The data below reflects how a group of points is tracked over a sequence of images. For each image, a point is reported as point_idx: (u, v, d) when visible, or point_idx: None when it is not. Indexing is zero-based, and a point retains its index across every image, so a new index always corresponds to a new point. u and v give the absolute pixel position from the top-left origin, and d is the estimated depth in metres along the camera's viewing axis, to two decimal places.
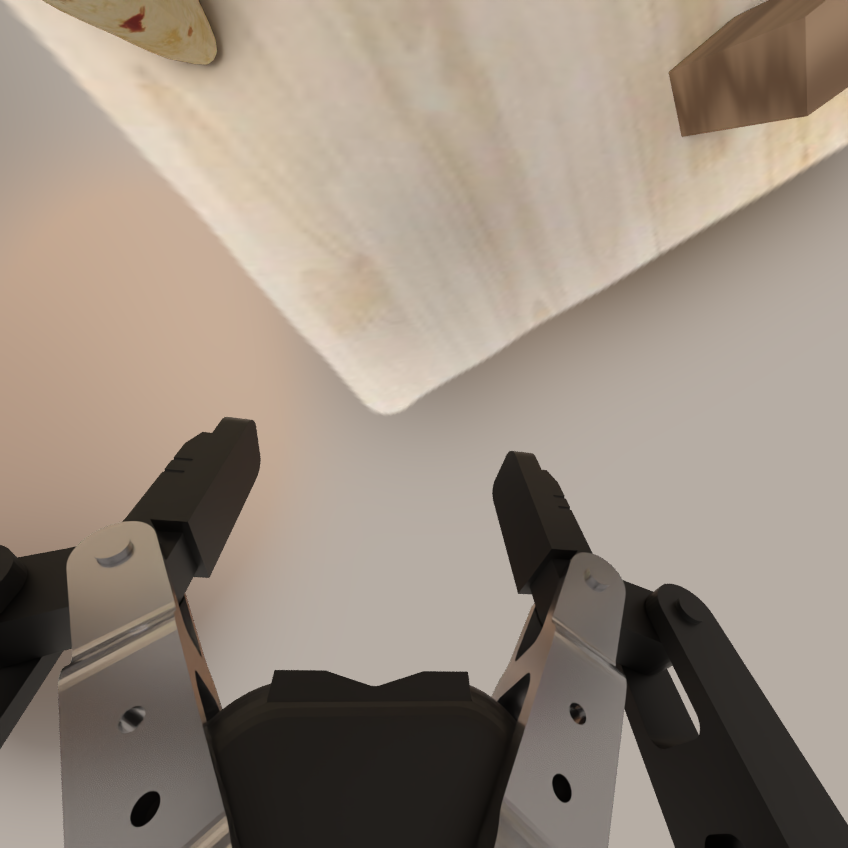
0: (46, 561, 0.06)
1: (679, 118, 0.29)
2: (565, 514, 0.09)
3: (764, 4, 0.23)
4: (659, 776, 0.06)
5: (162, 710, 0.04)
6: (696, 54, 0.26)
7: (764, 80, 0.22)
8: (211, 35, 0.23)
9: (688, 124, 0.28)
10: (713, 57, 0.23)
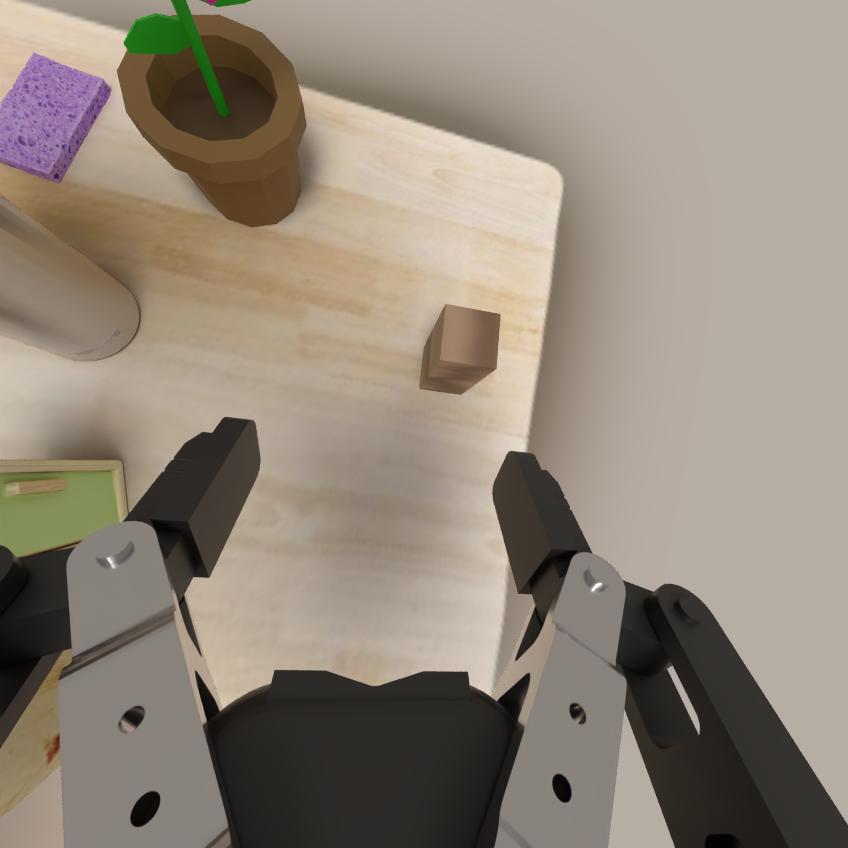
0: (46, 561, 0.06)
1: (449, 391, 0.39)
2: (565, 514, 0.09)
3: (428, 341, 0.36)
4: (659, 776, 0.06)
5: (162, 709, 0.04)
6: (422, 376, 0.37)
7: (459, 372, 0.31)
8: None
9: (456, 391, 0.38)
10: (428, 379, 0.34)
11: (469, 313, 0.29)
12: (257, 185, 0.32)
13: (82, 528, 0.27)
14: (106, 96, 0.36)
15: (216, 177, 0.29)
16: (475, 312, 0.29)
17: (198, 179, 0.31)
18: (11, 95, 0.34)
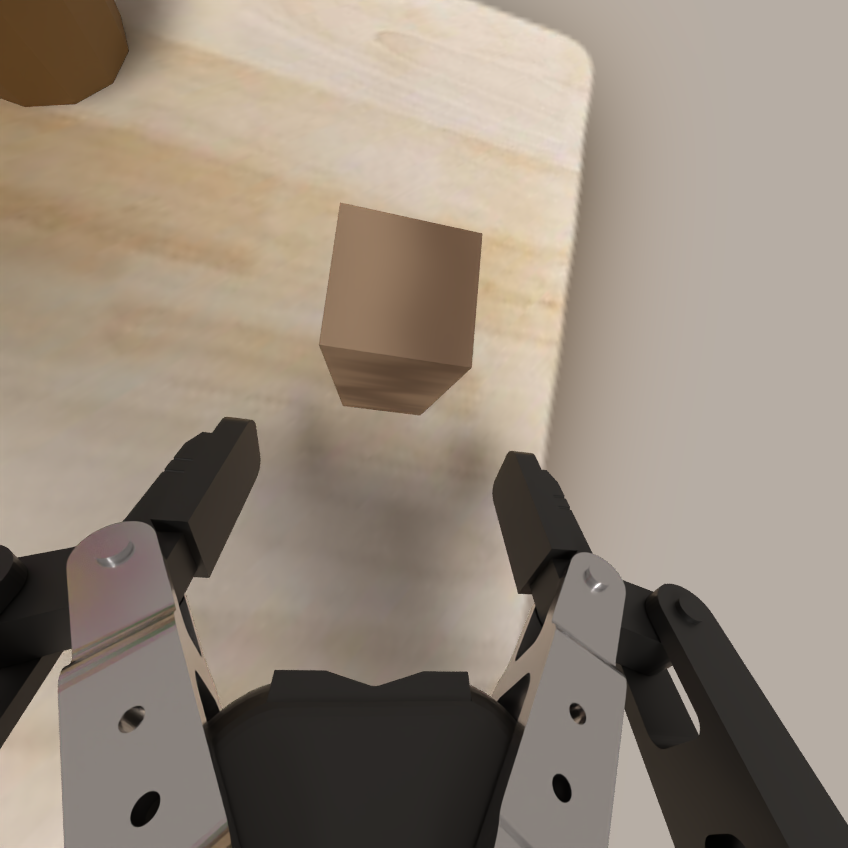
0: (46, 561, 0.06)
1: (398, 410, 0.22)
2: (565, 514, 0.09)
3: None
4: (659, 776, 0.06)
5: (162, 710, 0.04)
6: None
7: (390, 377, 0.13)
8: None
9: (409, 411, 0.21)
10: (341, 390, 0.17)
11: (402, 228, 0.11)
12: None
13: None
14: None
15: None
16: (418, 226, 0.12)
17: None
18: None
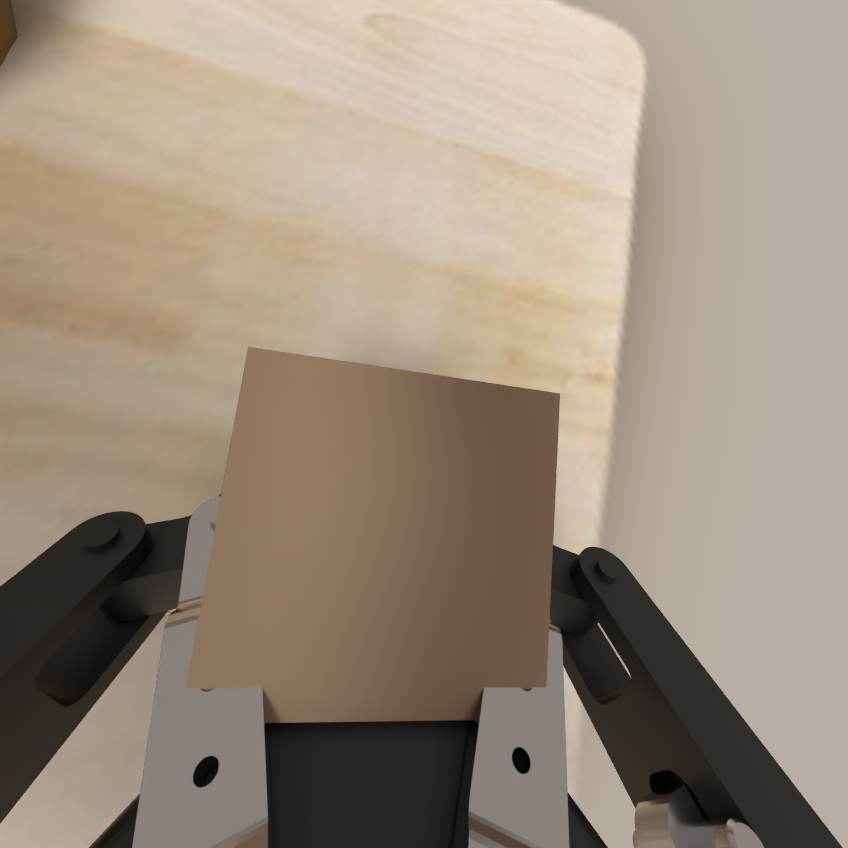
0: (164, 529, 0.07)
1: None
2: None
3: None
4: (605, 730, 0.07)
5: None
6: None
7: None
8: None
9: None
10: None
11: (391, 396, 0.05)
12: None
13: None
14: None
15: None
16: (426, 390, 0.05)
17: None
18: None
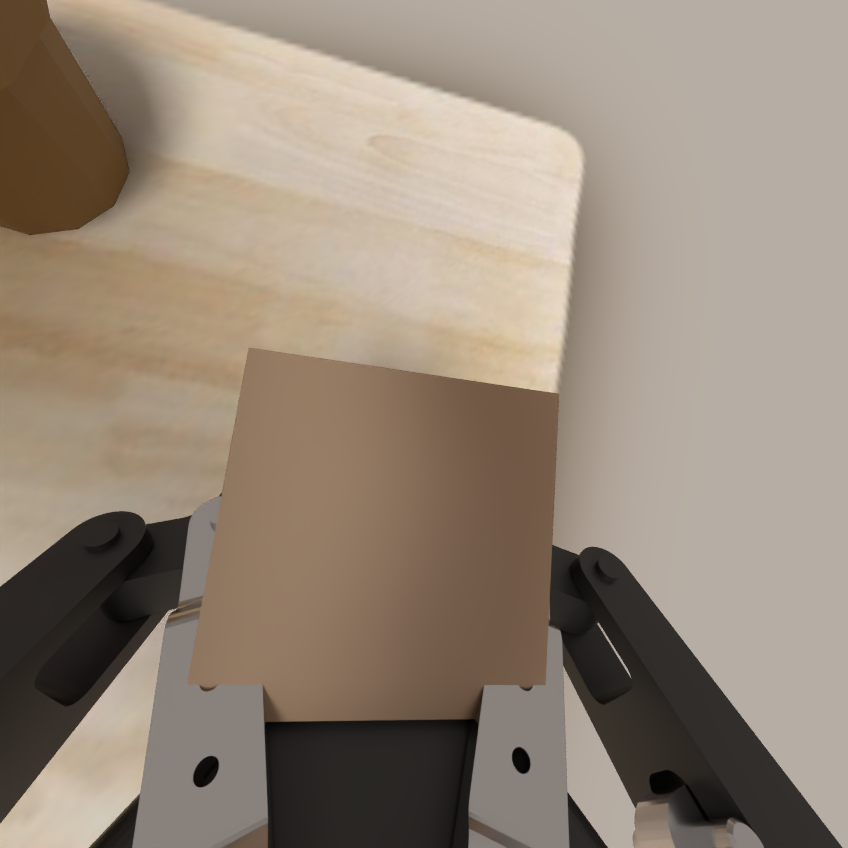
0: (164, 529, 0.07)
1: None
2: None
3: None
4: (604, 729, 0.07)
5: None
6: None
7: None
8: None
9: None
10: None
11: (390, 396, 0.05)
12: None
13: None
14: None
15: None
16: (426, 390, 0.05)
17: None
18: None
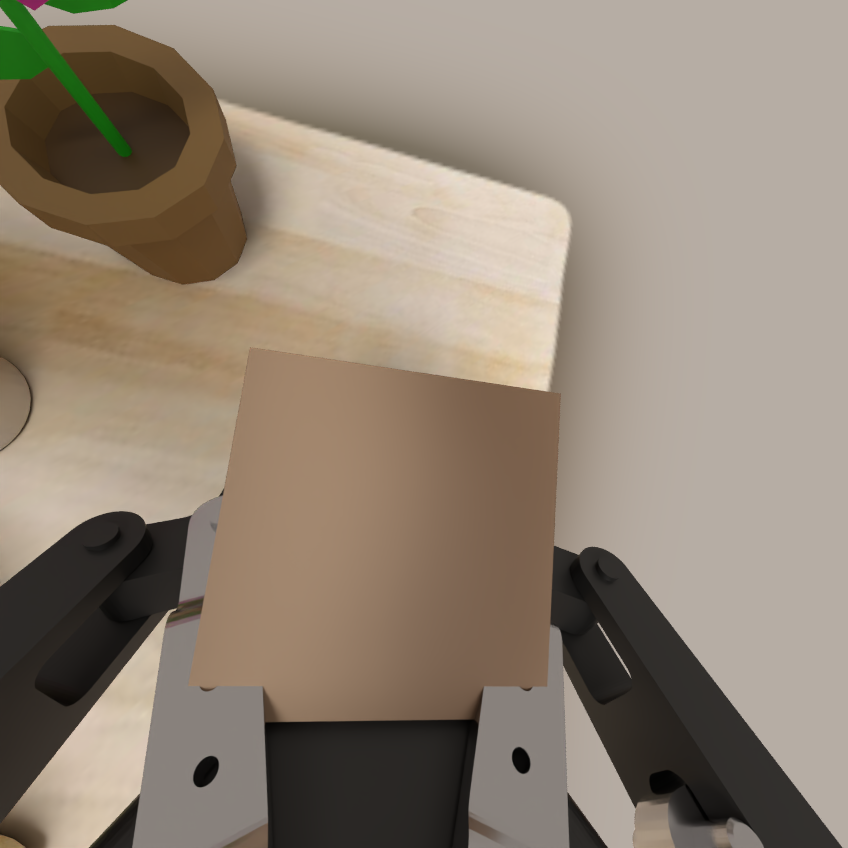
0: (163, 529, 0.07)
1: None
2: None
3: None
4: (604, 730, 0.07)
5: None
6: None
7: None
8: None
9: None
10: None
11: (392, 395, 0.05)
12: (173, 242, 0.24)
13: None
14: None
15: (105, 239, 0.21)
16: (427, 390, 0.05)
17: None
18: None
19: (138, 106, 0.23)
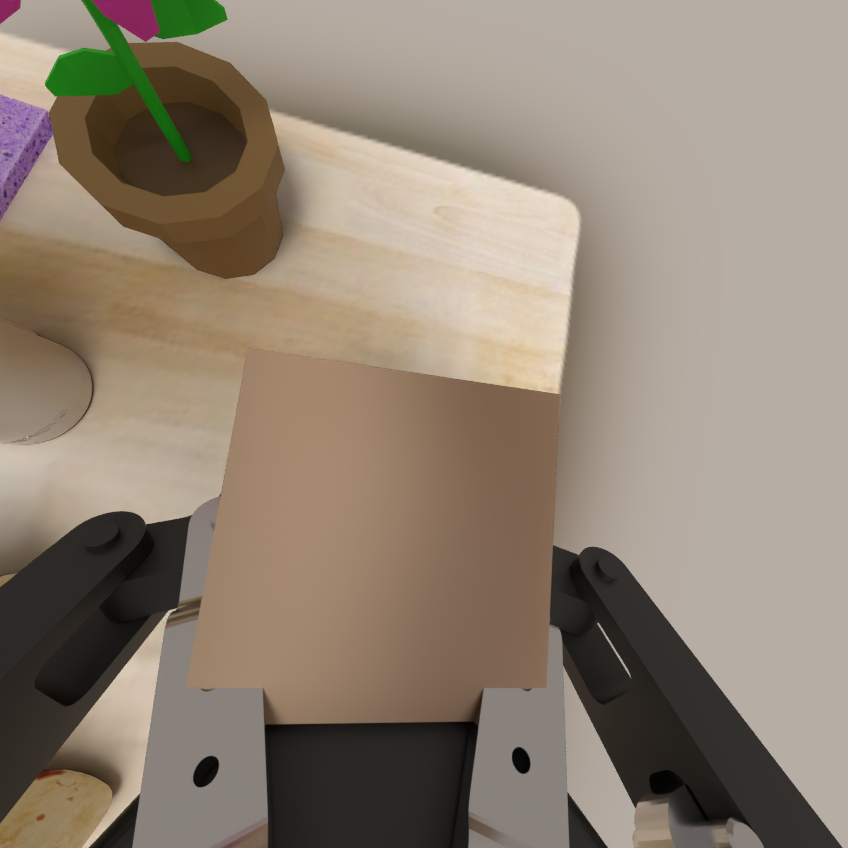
0: (163, 529, 0.07)
1: None
2: None
3: None
4: (604, 729, 0.07)
5: None
6: None
7: None
8: (98, 798, 0.25)
9: None
10: None
11: (391, 396, 0.05)
12: (227, 239, 0.27)
13: None
14: (51, 129, 0.31)
15: (173, 237, 0.24)
16: (426, 391, 0.05)
17: None
18: None
19: (195, 115, 0.26)
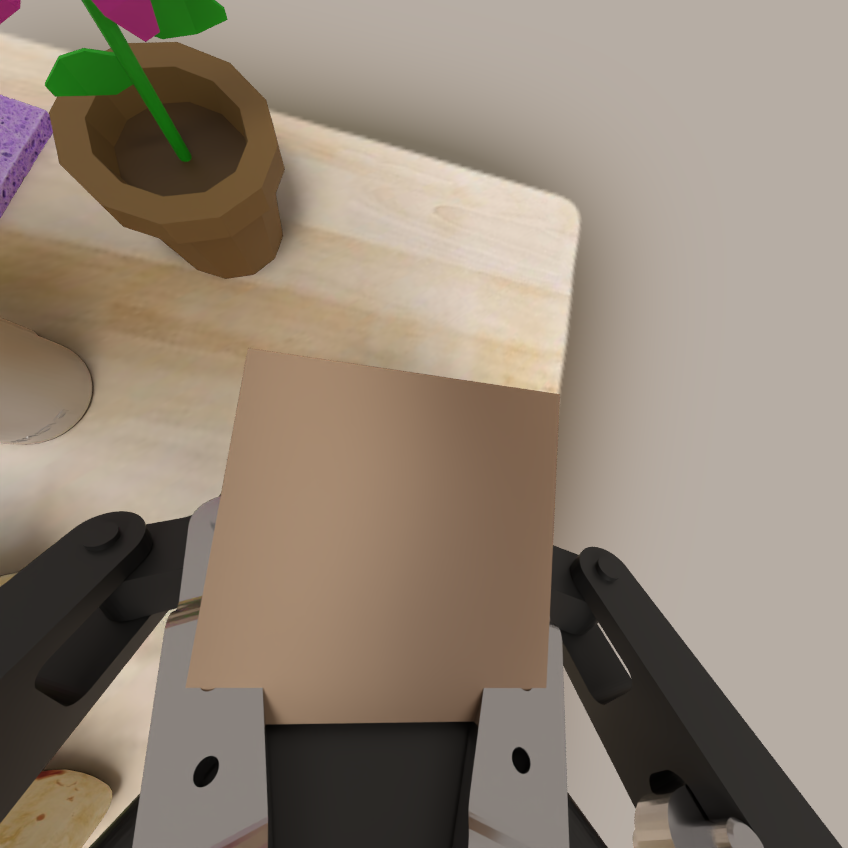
0: (163, 529, 0.07)
1: None
2: None
3: None
4: (604, 729, 0.07)
5: None
6: None
7: None
8: (98, 798, 0.25)
9: None
10: None
11: (391, 396, 0.05)
12: (227, 239, 0.27)
13: None
14: (51, 129, 0.31)
15: (173, 237, 0.24)
16: (426, 391, 0.05)
17: None
18: None
19: (195, 115, 0.26)
